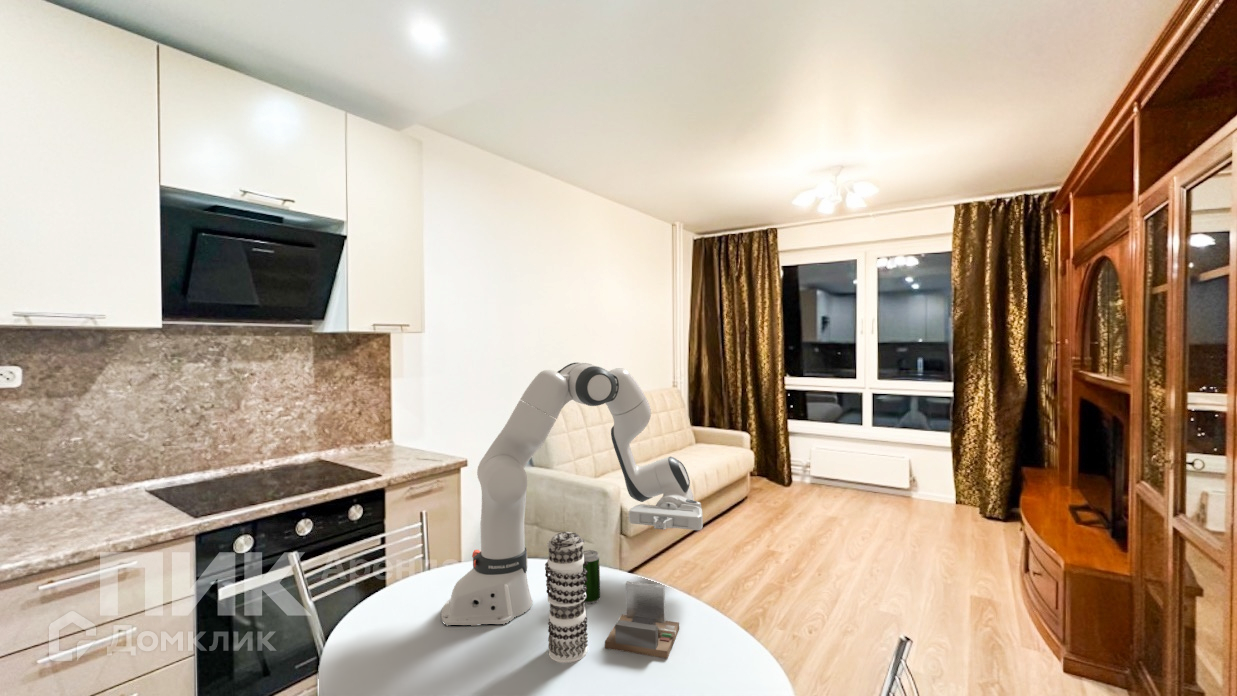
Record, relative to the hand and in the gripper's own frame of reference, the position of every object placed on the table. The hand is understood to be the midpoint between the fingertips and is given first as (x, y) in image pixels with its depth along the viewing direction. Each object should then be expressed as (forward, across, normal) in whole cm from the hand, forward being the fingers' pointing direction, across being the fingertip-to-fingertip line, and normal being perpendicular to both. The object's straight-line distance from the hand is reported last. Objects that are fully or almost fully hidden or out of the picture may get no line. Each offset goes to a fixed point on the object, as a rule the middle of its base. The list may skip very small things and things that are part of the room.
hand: (659, 526), depth 133 cm
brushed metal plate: (+17, +2, +18) cm, 25 cm away
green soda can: (+4, -18, +20) cm, 27 cm away
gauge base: (+18, +1, +20) cm, 26 cm away
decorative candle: (+27, -14, +20) cm, 36 cm away
